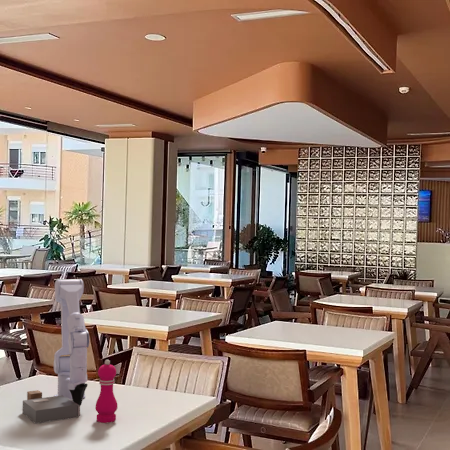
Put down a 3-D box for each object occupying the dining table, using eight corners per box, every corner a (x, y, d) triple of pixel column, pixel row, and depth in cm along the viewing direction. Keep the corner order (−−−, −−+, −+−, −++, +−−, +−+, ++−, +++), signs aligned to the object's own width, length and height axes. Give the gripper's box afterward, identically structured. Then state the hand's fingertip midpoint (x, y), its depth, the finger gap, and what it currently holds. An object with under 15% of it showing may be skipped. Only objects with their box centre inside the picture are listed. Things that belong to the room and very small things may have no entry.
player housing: (62, 407, 230) (62, 394, 230) (77, 417, 219) (77, 404, 219) (22, 412, 223) (22, 400, 223) (35, 423, 211) (35, 409, 211)
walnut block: (38, 404, 234) (38, 390, 234) (41, 406, 230) (42, 392, 230) (27, 405, 231) (27, 391, 231) (30, 408, 228) (30, 394, 228)
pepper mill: (93, 418, 218) (94, 358, 218) (114, 416, 221) (115, 357, 221) (97, 424, 211) (98, 362, 211) (119, 422, 214) (120, 361, 214)
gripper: (74, 361, 234) (73, 399, 234) (59, 370, 219) (59, 410, 219) (93, 362, 233) (92, 400, 233) (80, 371, 219) (79, 411, 219)
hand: (77, 405), depth 226 cm, fingers closed
